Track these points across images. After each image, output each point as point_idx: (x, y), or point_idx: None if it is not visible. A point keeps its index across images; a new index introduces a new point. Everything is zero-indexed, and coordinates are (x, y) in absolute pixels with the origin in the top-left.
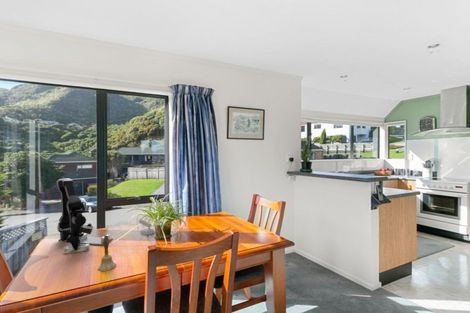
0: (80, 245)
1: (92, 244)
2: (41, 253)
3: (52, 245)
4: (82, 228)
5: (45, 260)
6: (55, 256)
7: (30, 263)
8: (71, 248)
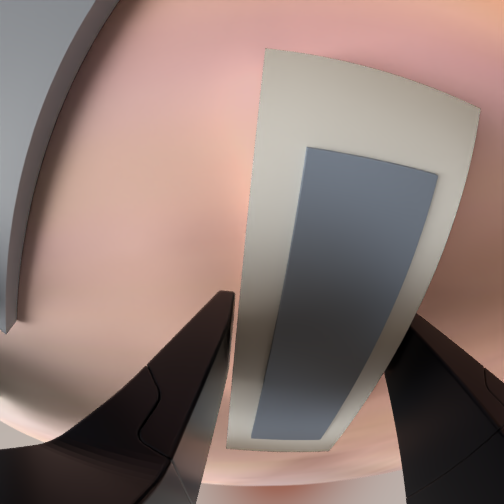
0: (342, 298)
1: (89, 37)
2: (214, 475)
3: (65, 431)
4: None
5: (389, 448)
6: (353, 431)
7: (371, 475)
8: (362, 397)
